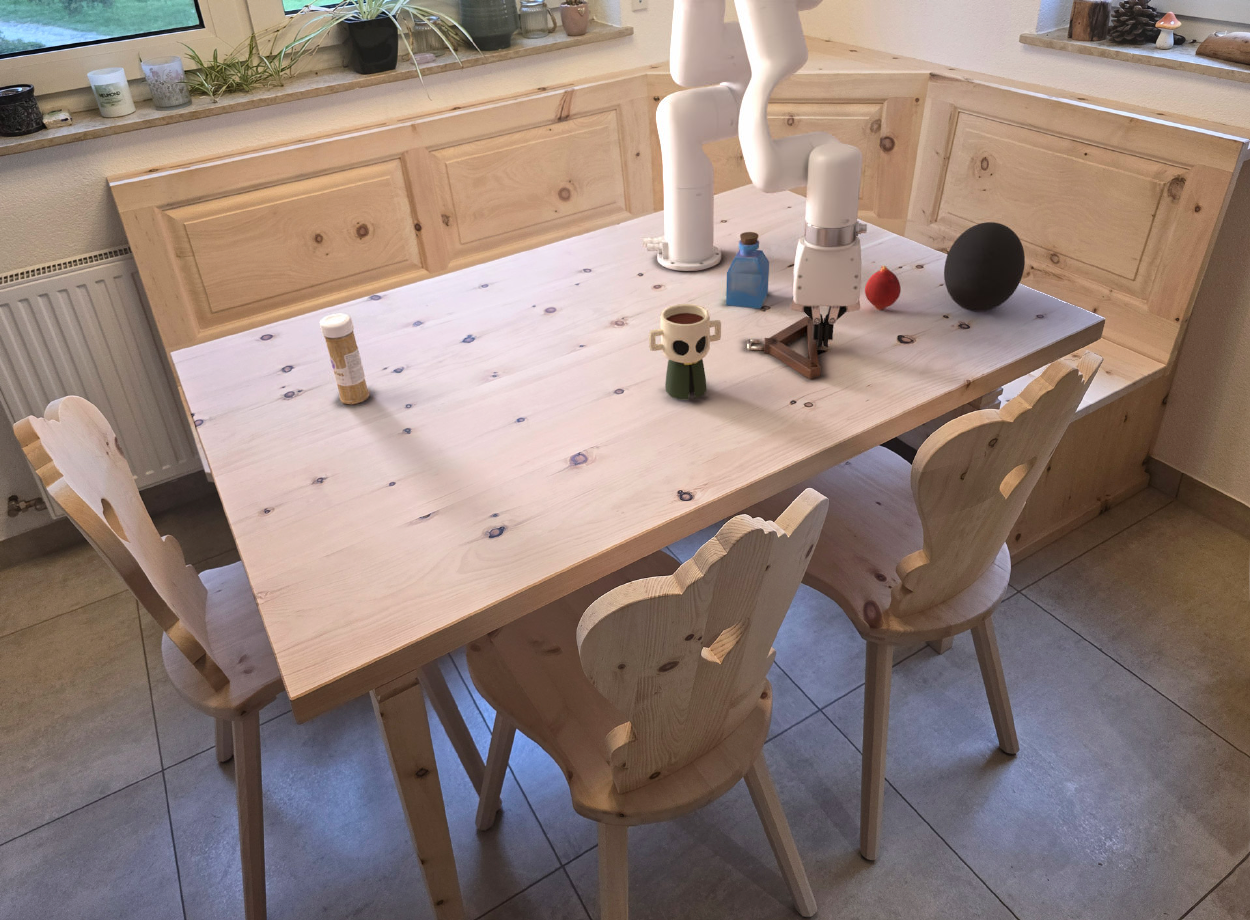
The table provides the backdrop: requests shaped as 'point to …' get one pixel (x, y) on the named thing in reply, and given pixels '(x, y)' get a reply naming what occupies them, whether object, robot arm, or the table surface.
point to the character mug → (685, 347)
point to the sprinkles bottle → (345, 358)
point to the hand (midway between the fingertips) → (822, 343)
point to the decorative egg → (984, 266)
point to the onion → (882, 288)
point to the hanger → (786, 354)
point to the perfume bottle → (748, 274)
